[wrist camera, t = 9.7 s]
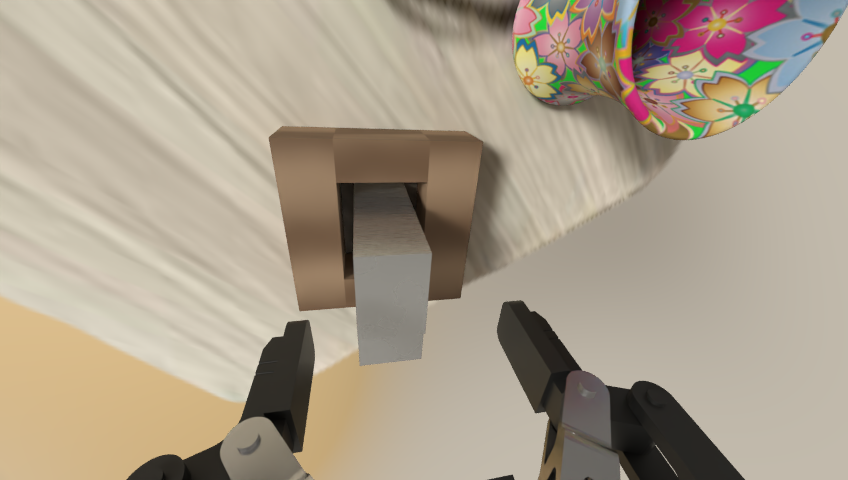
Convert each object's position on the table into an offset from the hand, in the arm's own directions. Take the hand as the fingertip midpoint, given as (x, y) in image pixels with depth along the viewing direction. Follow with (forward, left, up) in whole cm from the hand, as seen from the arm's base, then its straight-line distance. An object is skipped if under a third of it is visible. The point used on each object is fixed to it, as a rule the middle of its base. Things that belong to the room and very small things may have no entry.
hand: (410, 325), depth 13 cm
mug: (-13, +11, -13) cm, 21 cm away
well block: (0, 0, -12) cm, 12 cm away
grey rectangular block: (+2, -1, -12) cm, 12 cm away
